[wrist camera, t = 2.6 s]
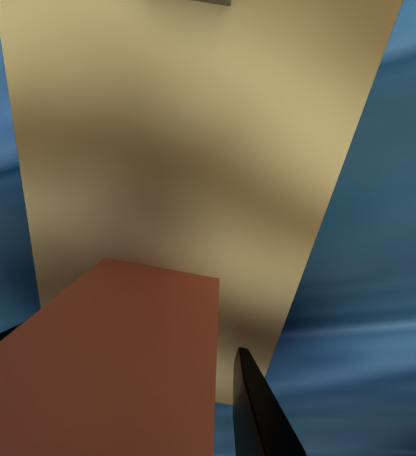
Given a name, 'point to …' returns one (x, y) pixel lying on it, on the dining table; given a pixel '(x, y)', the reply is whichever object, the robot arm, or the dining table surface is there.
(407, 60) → the dining table surface
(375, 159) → the dining table surface
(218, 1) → the steel block
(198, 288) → the reddish brown block
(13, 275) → the dining table surface
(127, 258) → the brass board
